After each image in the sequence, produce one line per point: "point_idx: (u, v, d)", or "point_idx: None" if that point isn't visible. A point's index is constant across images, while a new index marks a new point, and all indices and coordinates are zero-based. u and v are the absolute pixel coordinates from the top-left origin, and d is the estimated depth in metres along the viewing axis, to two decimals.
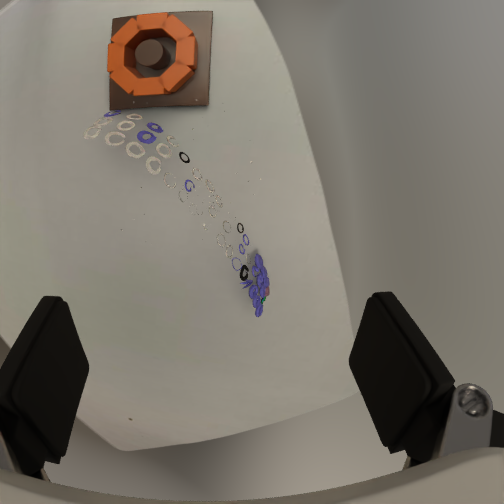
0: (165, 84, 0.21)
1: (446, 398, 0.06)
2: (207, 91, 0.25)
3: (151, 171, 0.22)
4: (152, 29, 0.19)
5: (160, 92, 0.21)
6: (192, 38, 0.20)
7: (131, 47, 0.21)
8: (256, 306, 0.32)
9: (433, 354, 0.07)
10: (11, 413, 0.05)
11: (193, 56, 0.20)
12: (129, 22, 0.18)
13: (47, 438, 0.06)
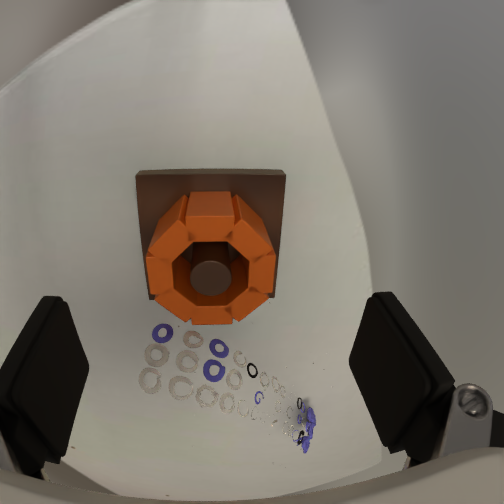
0: (234, 314, 0.18)
1: (446, 398, 0.06)
2: (274, 283, 0.23)
3: (226, 412, 0.19)
4: None
5: (228, 322, 0.19)
6: (272, 258, 0.17)
7: None
8: (306, 449, 0.30)
9: (433, 354, 0.07)
10: (11, 413, 0.05)
11: (272, 281, 0.18)
12: (174, 228, 0.15)
13: (47, 438, 0.06)
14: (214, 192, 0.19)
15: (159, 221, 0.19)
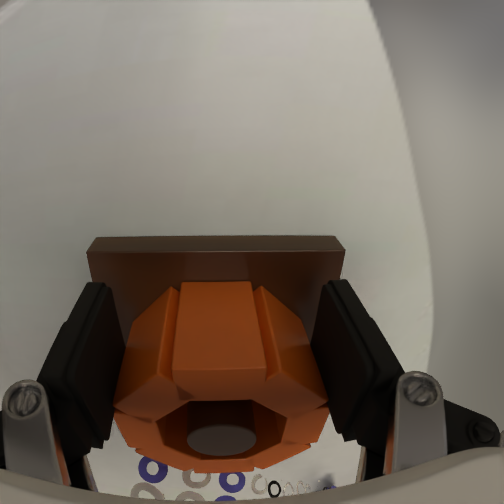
0: (257, 464, 0.10)
1: (395, 385, 0.07)
2: None
3: None
4: None
5: (247, 471, 0.11)
6: (325, 411, 0.09)
7: None
8: None
9: (379, 340, 0.07)
10: (64, 395, 0.06)
11: (319, 431, 0.10)
12: (153, 384, 0.08)
13: (95, 421, 0.07)
14: (223, 285, 0.11)
15: (133, 328, 0.11)
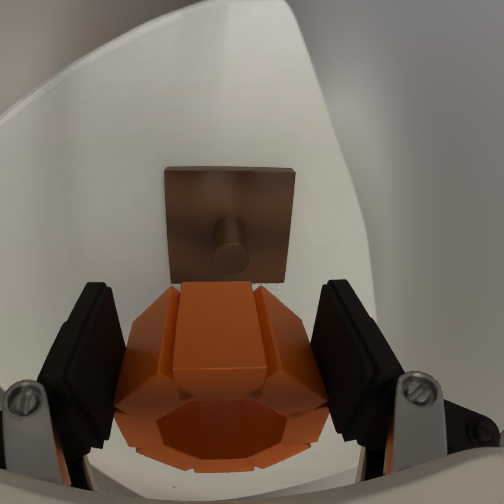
0: (257, 464, 0.10)
1: (394, 385, 0.07)
2: (284, 269, 0.25)
3: None
4: None
5: (247, 470, 0.11)
6: (325, 411, 0.09)
7: None
8: None
9: (379, 340, 0.07)
10: (63, 395, 0.06)
11: (319, 431, 0.10)
12: (153, 383, 0.08)
13: (95, 421, 0.07)
14: (223, 285, 0.11)
15: (133, 328, 0.11)
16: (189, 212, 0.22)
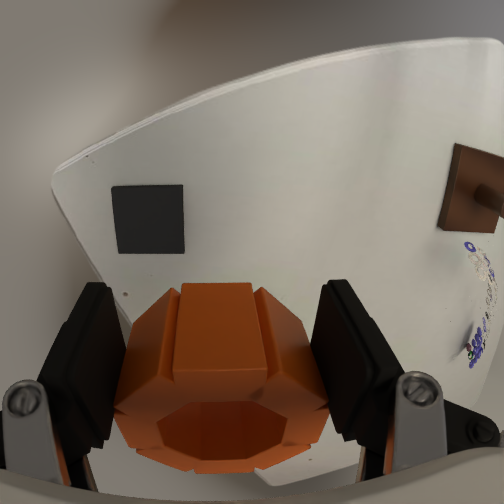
0: (258, 465, 0.10)
1: (394, 385, 0.07)
2: (496, 223, 0.29)
3: (496, 298, 0.26)
4: None
5: (247, 471, 0.11)
6: (325, 412, 0.09)
7: None
8: (475, 362, 0.36)
9: (379, 340, 0.07)
10: (63, 395, 0.06)
11: (319, 432, 0.10)
12: (153, 385, 0.08)
13: (95, 421, 0.07)
14: (224, 286, 0.11)
15: (133, 329, 0.11)
16: (467, 177, 0.26)
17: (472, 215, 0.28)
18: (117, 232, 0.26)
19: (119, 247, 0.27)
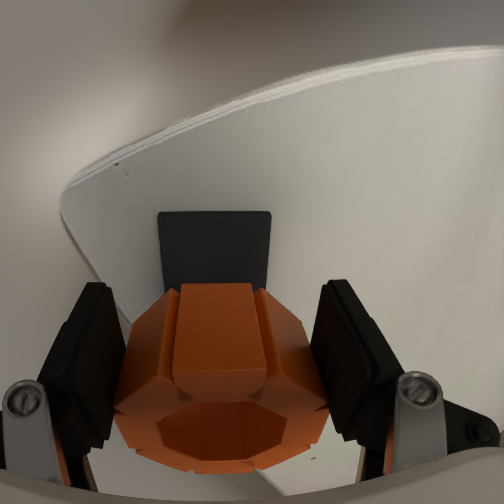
0: (257, 465, 0.10)
1: (394, 385, 0.07)
2: None
3: None
4: None
5: (247, 471, 0.11)
6: (325, 412, 0.09)
7: None
8: None
9: (379, 340, 0.07)
10: (64, 395, 0.06)
11: (319, 432, 0.10)
12: (153, 385, 0.08)
13: (95, 421, 0.07)
14: (223, 287, 0.11)
15: (133, 329, 0.11)
16: None
17: None
18: (166, 279, 0.18)
19: None
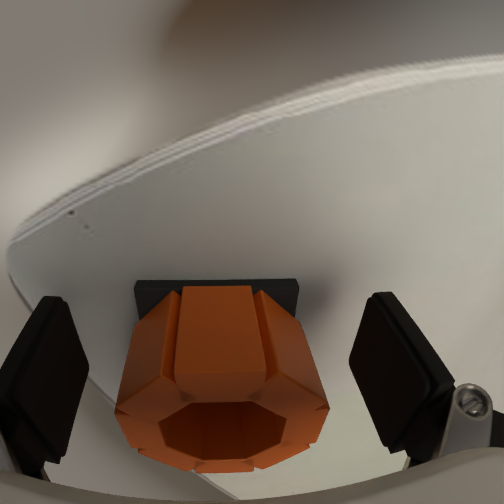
0: (257, 464, 0.11)
1: (446, 398, 0.06)
2: None
3: None
4: None
5: (247, 471, 0.11)
6: (323, 412, 0.09)
7: None
8: None
9: (433, 354, 0.07)
10: (11, 413, 0.05)
11: (318, 432, 0.10)
12: (156, 386, 0.08)
13: (47, 438, 0.06)
14: (224, 289, 0.11)
15: (135, 331, 0.11)
16: None
17: None
18: None
19: None
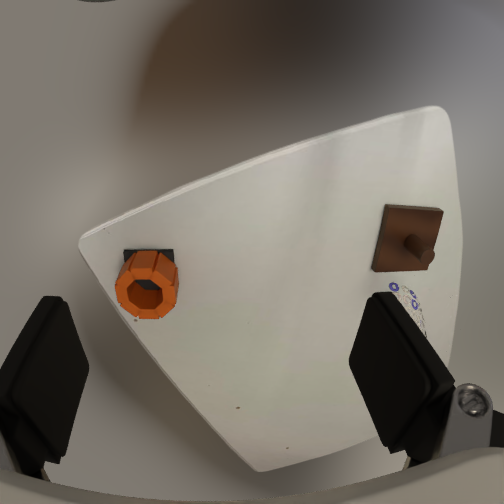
0: (159, 314, 0.35)
1: (446, 398, 0.06)
2: None
3: (419, 326, 0.37)
4: None
5: (156, 318, 0.36)
6: (172, 287, 0.34)
7: None
8: None
9: (433, 354, 0.07)
10: (11, 413, 0.05)
11: (174, 298, 0.35)
12: (126, 273, 0.32)
13: (47, 438, 0.06)
14: (149, 251, 0.36)
15: (123, 265, 0.36)
16: (396, 231, 0.38)
17: (402, 258, 0.40)
18: None
19: None
